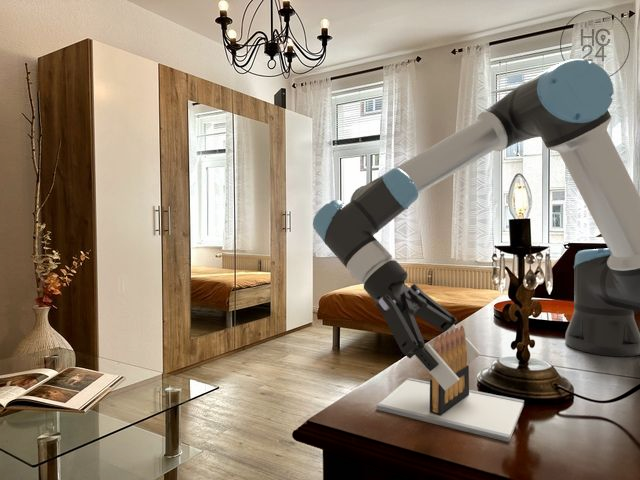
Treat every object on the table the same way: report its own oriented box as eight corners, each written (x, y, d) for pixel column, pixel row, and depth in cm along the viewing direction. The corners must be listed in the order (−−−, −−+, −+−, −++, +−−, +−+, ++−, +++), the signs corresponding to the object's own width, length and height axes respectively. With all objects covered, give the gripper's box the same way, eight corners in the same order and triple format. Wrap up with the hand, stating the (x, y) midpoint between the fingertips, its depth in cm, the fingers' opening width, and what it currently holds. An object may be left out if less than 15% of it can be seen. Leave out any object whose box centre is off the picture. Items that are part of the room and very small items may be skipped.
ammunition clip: (440, 416, 66) (440, 338, 65) (429, 412, 67) (428, 336, 67) (469, 394, 74) (469, 325, 73) (459, 391, 75) (459, 323, 74)
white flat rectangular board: (524, 404, 71) (524, 400, 71) (509, 442, 59) (509, 437, 59) (408, 381, 82) (408, 377, 82) (376, 409, 70) (376, 405, 70)
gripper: (392, 277, 88) (467, 361, 81) (328, 297, 67) (421, 413, 60) (417, 252, 85) (497, 337, 78) (357, 265, 64) (460, 383, 57)
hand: (464, 371), depth 69 cm, fingers open, 13 cm apart
